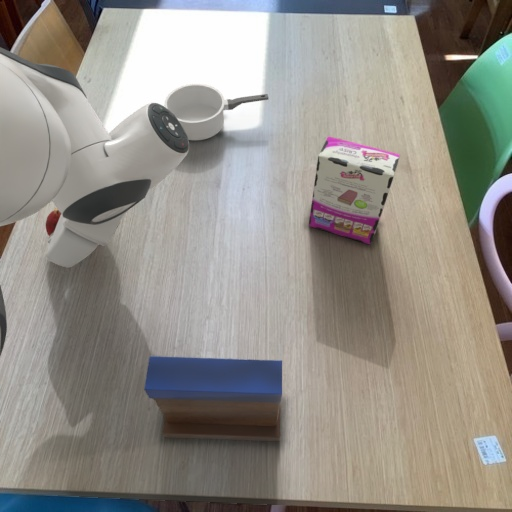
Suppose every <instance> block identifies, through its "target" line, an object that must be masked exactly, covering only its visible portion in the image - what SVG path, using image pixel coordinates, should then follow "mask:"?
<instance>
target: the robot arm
mask: <svg viewBox="0 0 512 512" xmlns="http://www.w3.org/2000/svg"><path fill="white" fill-rule="evenodd" d="M189 141H190V140H188V136H187V134H186V132H185V130H184V129H183V127H182V125H181V124H180V122H179V121H178V119H177V118H176V116H175V115H174V114H173V113H172V112H171V111H169V110H168V109H167V108H166V107H165V106H164V105H163V104H160V103H158V102H150V103H147V104H145V105H143V106H141V107H140V108H139V109H137V110H136V111H134V112H133V113H131V114H129V116H127V117H126V118H125V119H123V120H122V121H121V122H119V124H118V125H116V126H115V127H114V128H113V129H112V130H111V131H110V132H108V130H107V128H106V127H105V125H104V124H103V122H102V120H101V119H100V117H99V116H98V114H97V113H96V111H95V109H94V108H93V106H92V105H91V103H90V101H89V100H88V97H87V95H86V93H85V91H84V89H83V88H82V86H81V84H80V82H79V80H78V78H77V77H76V75H75V74H74V73H73V72H72V71H71V70H68V69H66V68H64V67H60V66H57V65H53V64H48V63H35V62H32V61H31V60H29V59H26V58H24V57H22V56H20V55H17V54H16V53H13V52H12V51H9V50H8V49H5V48H3V47H1V46H0V227H3V226H7V225H11V224H13V223H16V222H19V221H22V220H24V219H27V218H29V217H31V216H32V215H34V214H36V213H39V212H40V211H41V210H42V209H44V208H45V207H46V206H47V205H49V204H50V203H51V202H52V203H53V205H54V206H55V208H57V209H58V210H59V211H60V213H61V215H60V218H59V220H58V223H57V226H56V228H55V231H53V232H52V233H51V234H50V237H49V236H48V240H47V243H48V247H47V249H46V252H45V258H46V259H47V260H48V261H49V262H51V263H53V264H55V265H57V266H60V267H62V268H67V269H68V268H73V267H74V266H75V265H77V264H79V263H80V262H82V261H83V260H84V259H86V258H87V257H89V256H90V255H91V254H92V253H94V251H95V250H96V249H97V248H98V246H103V247H105V246H106V245H108V244H109V243H110V242H112V239H113V237H114V235H115V233H116V231H117V229H118V227H119V225H120V224H121V221H122V219H123V218H124V217H125V215H126V213H128V211H130V209H132V208H133V207H135V206H136V205H137V204H139V203H140V202H141V201H142V200H144V199H145V198H146V196H147V195H148V192H149V191H150V190H151V189H154V188H155V187H156V186H158V184H160V183H161V182H162V181H163V180H165V179H166V178H167V177H168V176H169V175H170V174H172V172H173V171H174V170H175V169H176V168H178V166H179V165H180V164H181V163H182V161H183V160H184V159H185V158H186V157H187V155H188V153H189V150H190V142H189ZM7 332H8V322H7V311H6V304H5V298H4V294H3V289H2V286H1V285H0V357H1V356H2V352H3V350H4V347H5V342H6V338H7Z"/></svg>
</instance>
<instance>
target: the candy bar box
mask: <svg viewBox="0 0 512 512" xmlns="http://www.w3.org/2000/svg"><path fill="white" fill-rule="evenodd" d="M400 159H401V154H400V153H398V152H397V153H396V152H392V151H388V150H384V149H380V148H377V147H373V146H369V145H364V144H361V143H357V142H353V141H350V140H346V139H341V138H337V137H335V136H330V135H327V137H326V139H325V142H324V144H323V145H322V147H321V150H320V152H319V154H318V156H317V162H316V170H315V178H314V183H313V190H312V198H311V205H310V213H309V218H308V226H309V227H311V228H314V229H317V230H321V231H324V232H327V233H330V234H335V235H338V236H341V237H344V238H347V239H351V240H355V241H356V242H357V241H358V242H360V243H364V244H368V245H372V243H373V240H374V238H375V235H376V232H377V231H378V226H379V223H380V221H381V217H382V214H383V212H384V208H385V205H386V202H387V199H388V197H389V194H390V193H389V192H390V190H391V188H392V184H393V181H394V178H395V175H396V171H397V168H398V164H399V161H400Z"/></svg>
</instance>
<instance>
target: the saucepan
mask: <svg viewBox="0 0 512 512" xmlns="http://www.w3.org/2000/svg"><path fill="white" fill-rule="evenodd" d="M268 100H269V94H268V93H264V94H256V95H249V96H241V97H235V98H233V99H230V98H227V99H225V97H224V95H223V94H222V92H221V91H220V90H219V89H218V88H215V87H214V86H211V85H208V84H203V83H190V84H185V85H181V86H179V87H177V88H175V89H173V90H172V91H171V92H170V93H168V95H167V96H166V97H165V100H164V105H163V106H164V107H166V108H167V109H168V110H169V111H171V112H172V113H173V114H174V115H175V116H176V118H177V119H178V121H179V122H180V124H181V125H182V127H183V129H184V130H185V132H186V134H187V136H188V140H189V141H203V140H206V139H210V138H212V137H214V136H216V135H217V134H218V133H219V132H220V131H221V130H222V129H223V127H224V123H225V118H224V111H230V110H231V111H233V110H234V109H235V108H237V107H238V106H241V105H243V104H247V103H254V102H255V103H256V102H261V101H268Z"/></svg>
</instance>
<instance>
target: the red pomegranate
mask: <svg viewBox="0 0 512 512" xmlns="http://www.w3.org/2000/svg"><path fill="white" fill-rule="evenodd" d="M60 215H61V213H60V211H59V210H58V209H57V207H55V208H54V210H52V211H51V212H50V213H49V215H48V216H47V217H46V220H45V230H46V234H47V236H48V238H49V237H50V234H51V233H52V232H53V231H55V228H56V226H57V223H58V220H59V218H60Z"/></svg>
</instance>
